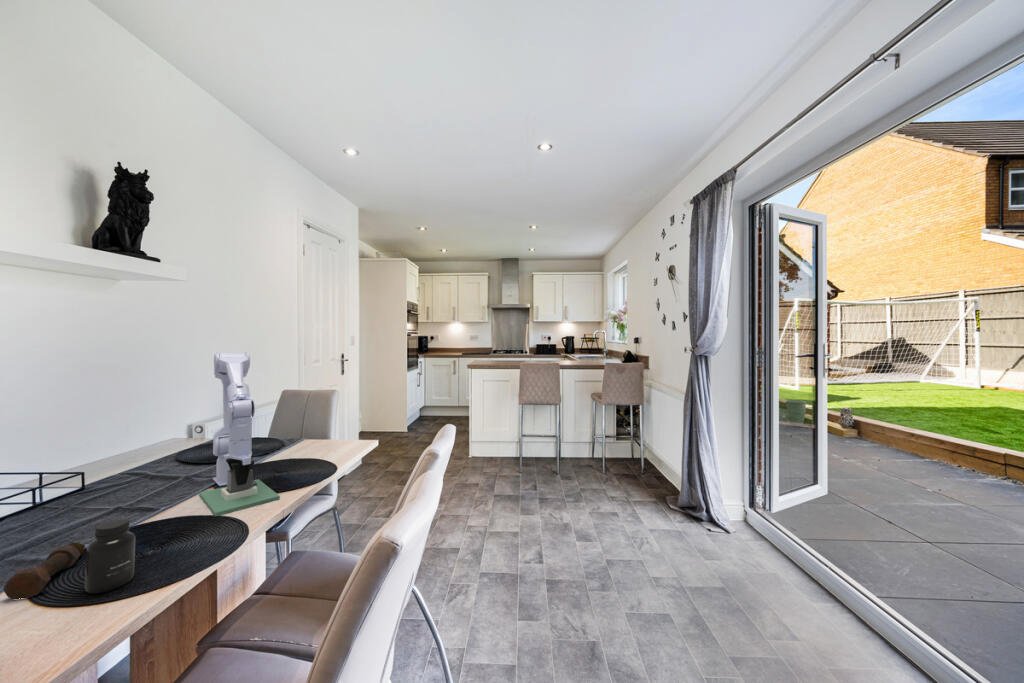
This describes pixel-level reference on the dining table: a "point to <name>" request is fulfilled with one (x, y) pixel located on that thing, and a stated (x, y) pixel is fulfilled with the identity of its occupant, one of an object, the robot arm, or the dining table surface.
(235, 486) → the plug
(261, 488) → the header board
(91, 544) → the supplement bottle
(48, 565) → the brown elongated piece
